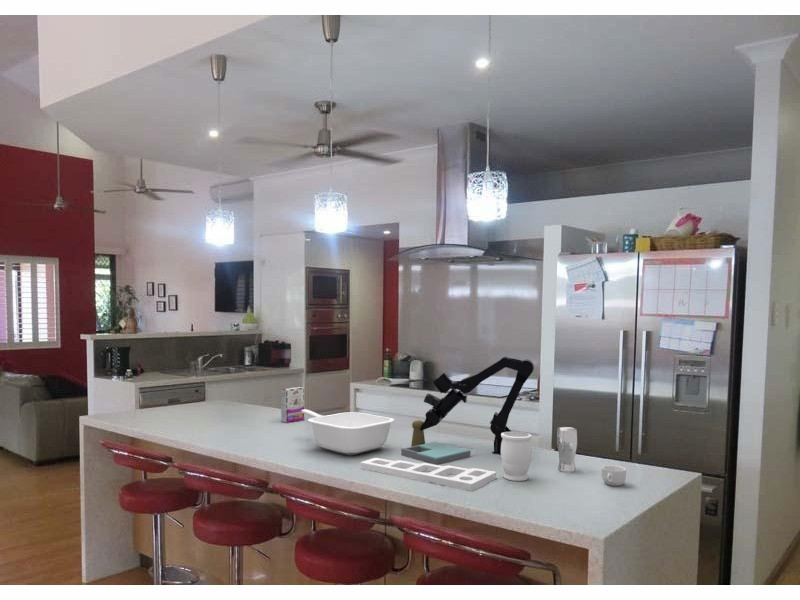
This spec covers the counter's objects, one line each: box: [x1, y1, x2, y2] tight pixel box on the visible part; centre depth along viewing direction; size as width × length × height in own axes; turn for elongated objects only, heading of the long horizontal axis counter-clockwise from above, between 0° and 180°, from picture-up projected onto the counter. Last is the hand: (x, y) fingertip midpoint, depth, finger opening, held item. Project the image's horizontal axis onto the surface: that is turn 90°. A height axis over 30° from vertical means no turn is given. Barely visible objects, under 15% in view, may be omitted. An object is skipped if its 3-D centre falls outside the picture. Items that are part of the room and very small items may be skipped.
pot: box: [301, 408, 396, 456], centre depth 260 cm, size 28×44×13 cm, turn 48°
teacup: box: [601, 464, 627, 487], centre depth 209 cm, size 10×8×5 cm
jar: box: [500, 431, 532, 482], centre depth 216 cm, size 11×10×15 cm
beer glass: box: [556, 426, 578, 473], centre depth 227 cm, size 7×7×15 cm
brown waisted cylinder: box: [410, 419, 426, 447], centre depth 260 cm, size 6×6×11 cm
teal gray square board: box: [400, 441, 471, 465], centre depth 246 cm, size 19×19×2 cm
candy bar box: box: [280, 386, 305, 424], centre depth 314 cm, size 11×5×16 cm, turn 138°
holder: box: [360, 457, 497, 491], centre depth 221 cm, size 45×18×3 cm, turn 56°
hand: (422, 427), depth 259 cm, fingers open, 9 cm apart
